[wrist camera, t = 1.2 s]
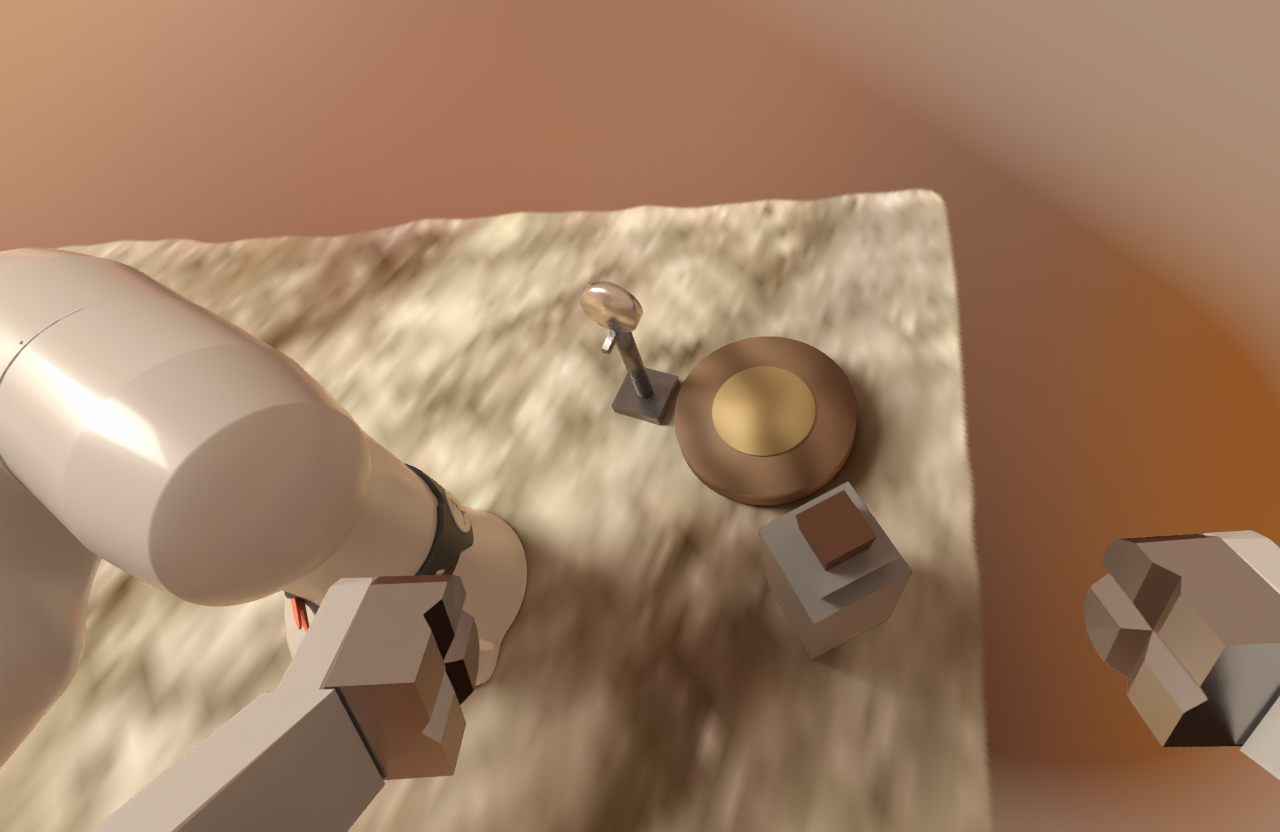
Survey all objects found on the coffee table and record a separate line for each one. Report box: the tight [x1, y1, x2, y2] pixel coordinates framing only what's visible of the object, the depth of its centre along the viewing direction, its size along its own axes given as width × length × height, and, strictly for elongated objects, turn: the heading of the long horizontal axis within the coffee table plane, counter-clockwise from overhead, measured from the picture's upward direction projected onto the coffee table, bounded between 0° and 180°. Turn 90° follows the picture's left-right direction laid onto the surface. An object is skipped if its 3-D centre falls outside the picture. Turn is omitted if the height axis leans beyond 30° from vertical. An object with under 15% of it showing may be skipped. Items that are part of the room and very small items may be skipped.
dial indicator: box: [580, 281, 680, 425], centre depth 59 cm, size 5×5×17 cm
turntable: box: [674, 337, 857, 505], centre depth 60 cm, size 16×16×3 cm
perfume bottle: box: [758, 482, 912, 660], centre depth 46 cm, size 7×7×18 cm
